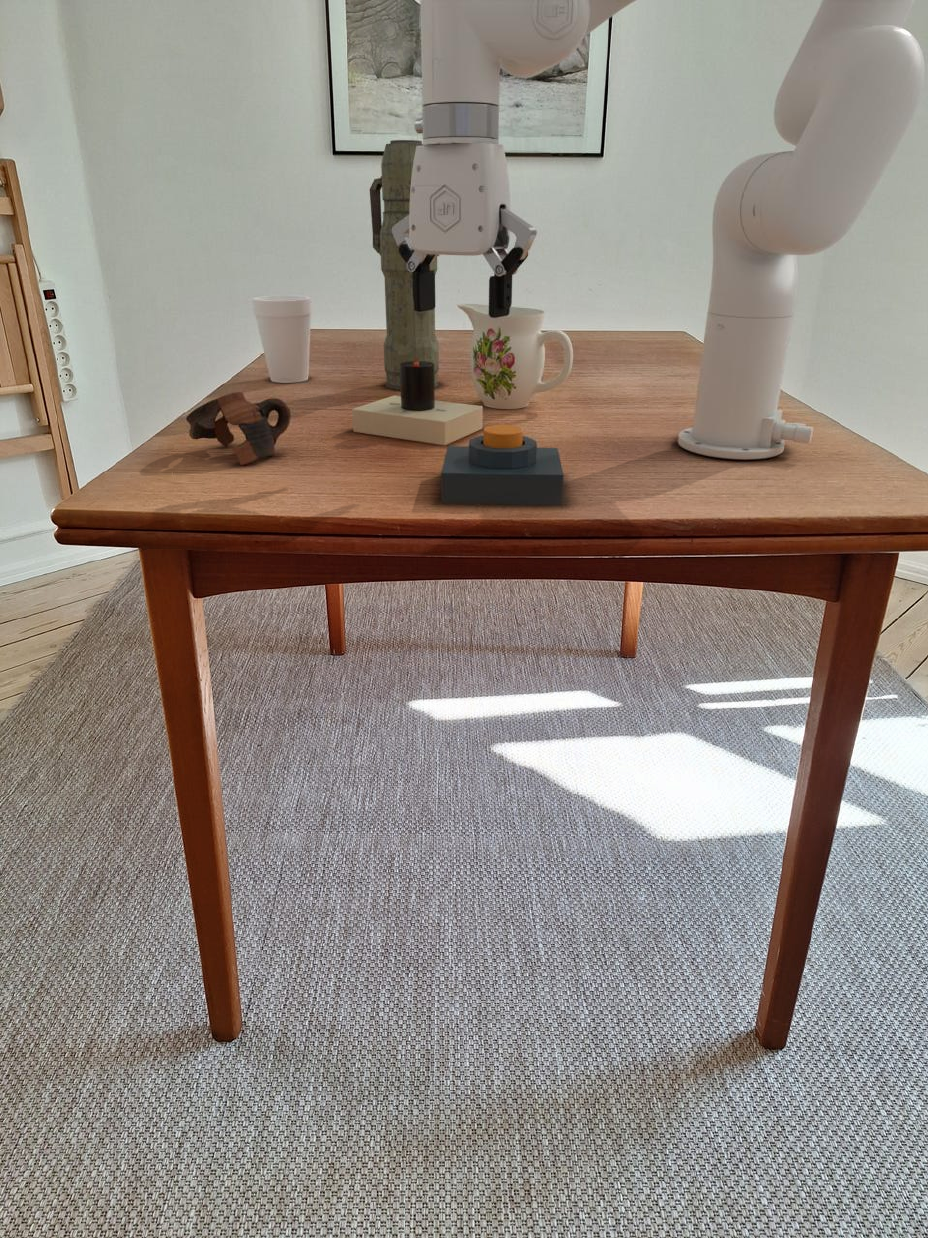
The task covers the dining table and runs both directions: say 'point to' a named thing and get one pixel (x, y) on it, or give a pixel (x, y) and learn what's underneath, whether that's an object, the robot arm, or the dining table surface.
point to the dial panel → (418, 421)
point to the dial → (417, 385)
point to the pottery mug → (241, 424)
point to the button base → (502, 474)
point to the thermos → (400, 267)
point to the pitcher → (511, 355)
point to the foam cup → (285, 335)
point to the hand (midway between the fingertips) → (461, 313)
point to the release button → (502, 436)
